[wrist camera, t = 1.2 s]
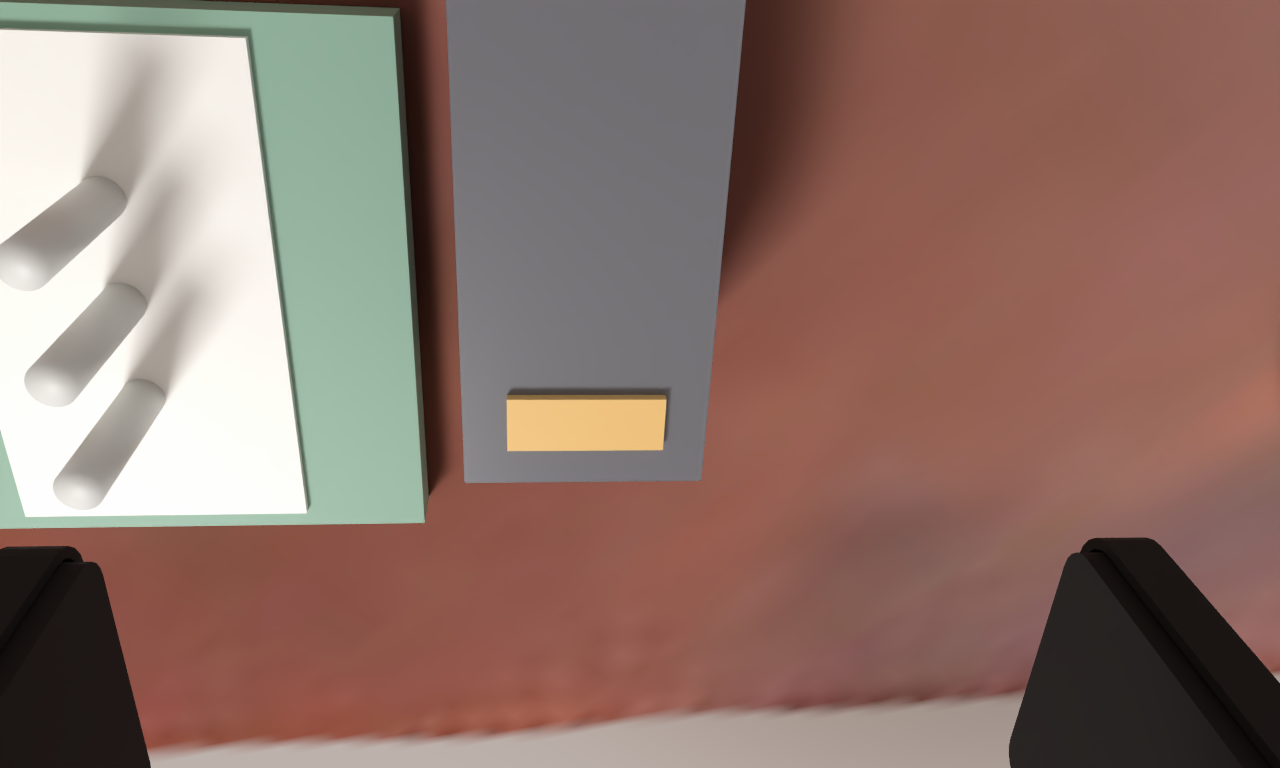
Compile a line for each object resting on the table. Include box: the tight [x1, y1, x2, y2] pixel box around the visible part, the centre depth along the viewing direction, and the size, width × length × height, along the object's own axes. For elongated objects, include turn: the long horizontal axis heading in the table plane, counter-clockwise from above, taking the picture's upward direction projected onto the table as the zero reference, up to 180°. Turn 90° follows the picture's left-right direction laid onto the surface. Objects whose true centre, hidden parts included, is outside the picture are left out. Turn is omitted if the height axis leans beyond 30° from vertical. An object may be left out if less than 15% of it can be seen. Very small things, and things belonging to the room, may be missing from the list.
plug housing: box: [446, 0, 746, 483], centre depth 22 cm, size 5×10×6 cm, turn 178°
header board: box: [0, 0, 429, 529], centre depth 22 cm, size 13×13×5 cm
